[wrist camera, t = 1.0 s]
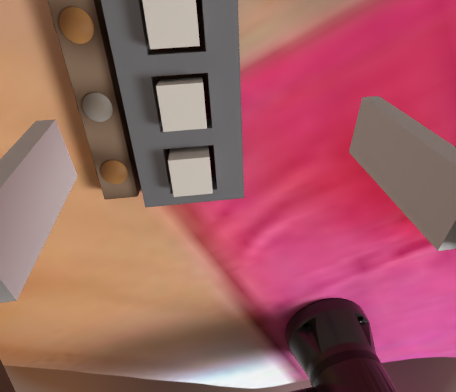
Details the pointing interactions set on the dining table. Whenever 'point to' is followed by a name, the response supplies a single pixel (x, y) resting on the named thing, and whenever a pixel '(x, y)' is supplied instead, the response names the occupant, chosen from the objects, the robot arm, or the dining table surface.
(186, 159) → the far button
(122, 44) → the button panel
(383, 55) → the dining table surface
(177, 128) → the middle button
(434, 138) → the robot arm
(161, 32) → the near button
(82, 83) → the pattern sign
